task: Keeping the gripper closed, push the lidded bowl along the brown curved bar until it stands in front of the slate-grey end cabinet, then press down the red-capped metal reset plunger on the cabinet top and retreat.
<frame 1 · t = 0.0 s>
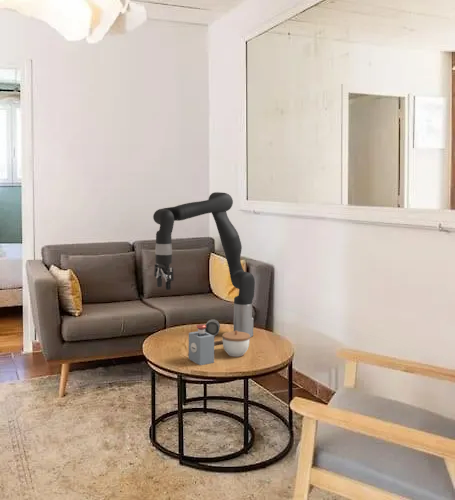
hand: (163, 288, 271), 29 cm above the table, fingers open, 8 cm apart
lidded bowl: (235, 354, 270), on the table
brown curved bar: (218, 350, 275), on the table
ceramic mug: (209, 334, 303), on the table
plunger: (201, 331, 258), point 13 cm above the table, slide at 0.0 cm
cabinet: (201, 360, 260), on the table
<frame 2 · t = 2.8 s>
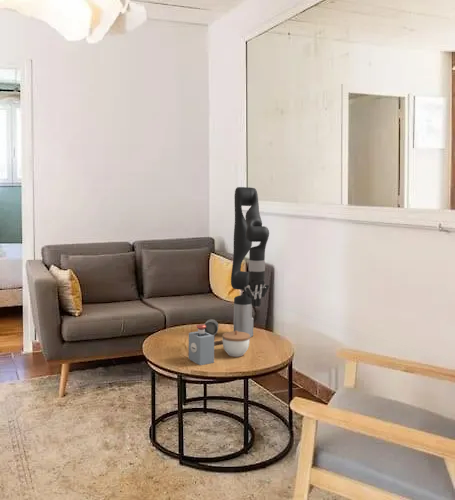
hand: (256, 306, 273), 21 cm above the table, fingers closed
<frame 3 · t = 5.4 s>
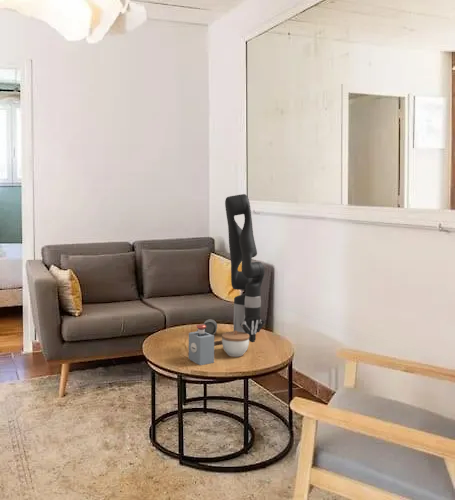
hand: (252, 341, 274), 5 cm above the table, fingers closed
lidded bowl: (235, 354, 270), on the table, touching gripper, hand
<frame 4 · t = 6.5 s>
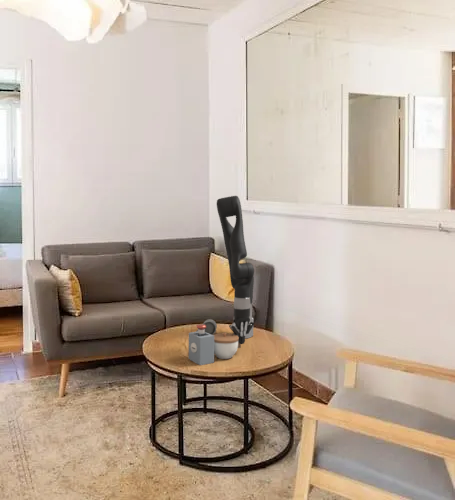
hand: (241, 343, 271), 5 cm above the table, fingers closed
lidded bowl: (224, 356, 266), on the table, touching gripper, hand
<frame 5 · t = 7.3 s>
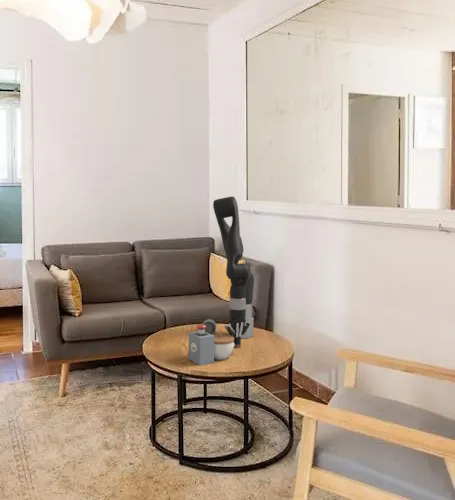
hand: (237, 344, 270), 5 cm above the table, fingers closed
lidded bowl: (219, 357, 265), on the table, touching cabinet, gripper, hand
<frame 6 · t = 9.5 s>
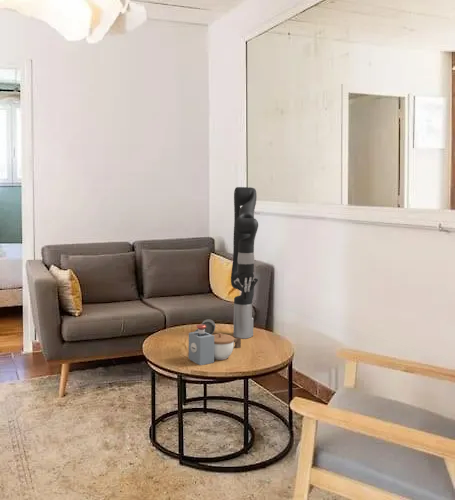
hand: (245, 299, 269), 25 cm above the table, fingers closed
lidded bowl: (219, 357, 265), on the table
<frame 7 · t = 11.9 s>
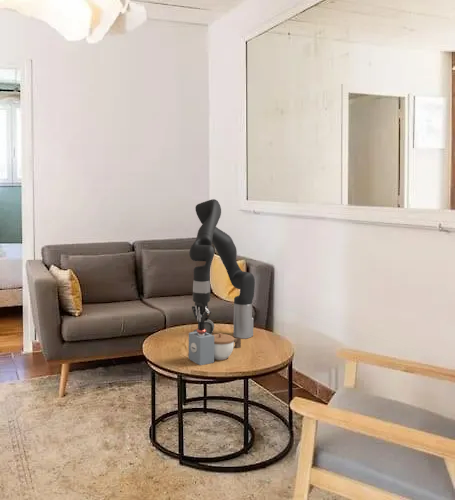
hand: (201, 329, 258), 14 cm above the table, fingers closed
plunger: (201, 335, 258), point 11 cm above the table, slide at 1.9 cm, touching gripper
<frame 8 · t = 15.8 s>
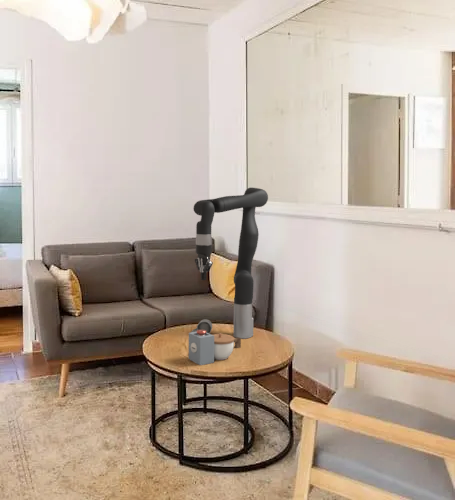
hand: (203, 280, 278), 32 cm above the table, fingers closed
plunger: (201, 337, 258), point 11 cm above the table, slide at 2.5 cm
at the end: lidded bowl inside the target area (0.7 cm from its centre), on the table; lidded bowl tilted 0°; plunger slide at 2.5 cm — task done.
